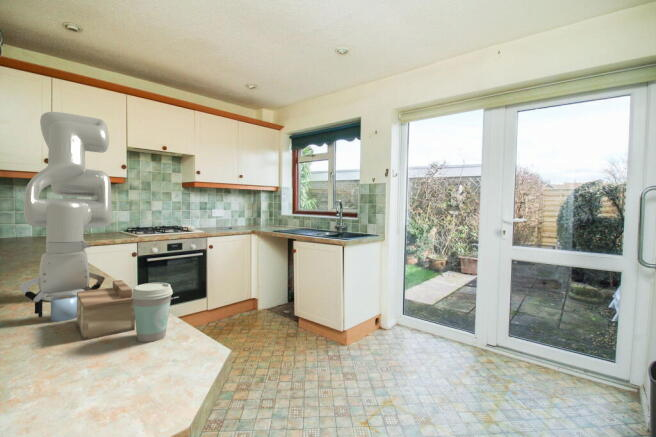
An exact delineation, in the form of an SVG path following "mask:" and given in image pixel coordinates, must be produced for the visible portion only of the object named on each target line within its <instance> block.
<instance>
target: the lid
mask: <svg viewBox="0 0 656 437" xmlns="http://www.w3.org/2000/svg"><path fill="white" fill-rule="evenodd" d="M132 292H133V290H132V288H131V287H130V286H129V285H128V284H127V283H125V281H123V280H122V279H120V280H118V279H117V280H112V287H106V288H99V289H96V290H88V291H80V292H77V296H78V298H79V300H80V302H81V304H82V306H83V308H84V309H91V308H97V307H103V306H110V305H116V304H123V303H129V302H133V298H131V296H132Z"/></svg>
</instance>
